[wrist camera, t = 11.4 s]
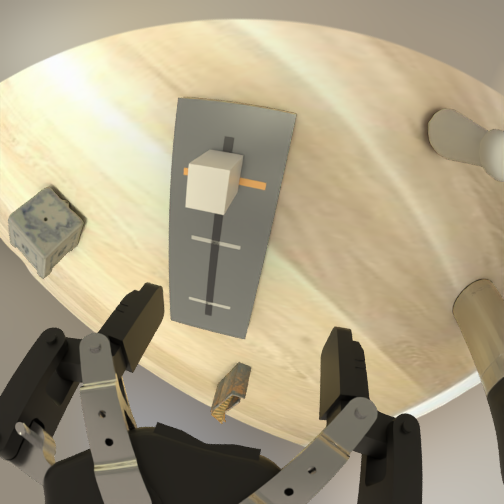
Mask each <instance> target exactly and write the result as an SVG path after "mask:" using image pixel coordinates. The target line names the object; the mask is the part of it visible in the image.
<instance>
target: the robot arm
mask: <svg viewBox="0 0 504 504" xmlns="http://www.w3.org/2000/svg"><path fill="white" fill-rule="evenodd" d="M453 314H454V317H455V319H456V321H457V323H458V325H459V327H460V330H461V332H462V334H463V336H464V339H465V341H466V343H467V346H468V348H469V350H470V353H471V355H472V358H473V360H474V363H475V366H476V368H477V371H478V374H479V377H480V379H481V382H482V385H483V388H484V391H485V394H486V397H487V400H488V404H489V406H490V410H491V414H492V418H493V421H494V426H495V430H496V435H497V441H498V449H499V458H500V468H501V475H502V480H503V483H504V300H503V298H502V296H501V295H500V293H499V292H498V290H497V289H496V288H495V286H494V285H493V283H492V282H491V281H489V280H486V279H483V280H479V281H476V282H474V283H472V284H471V285H469V286H468V287H467V288H466V289H465V290H464V291H463V292H462V293H461V294H460V295H459V297H458V298H457V300H456V302H455V304H454V308H453ZM163 316H164V299H163V288H162V287H161V286H158V285H155V284H151V283H148V282H147V283H145V284H144V286H143V287H142V288H141V290H140V291H137V290H134V291H132V292H131V293H129V294H127V295H126V296H125V297H124V298H123V300H122V301H121V302H120V304H119V305H118V306H117V308H116V310H114V311H113V313H112V314H111V315H110V317H109V318H108V320H107V321H106V322H105V324H104V325H103V326H102V328H101V329H100V330H99V332H98V333H92V334H89V335H87V336H85V337H84V338H83V339H75V338H68V337H65V335H64V333H63V331H62V330H61V329H59V328H49V329H47V330H45V331H44V332H43V333H42V334H41V335H40V337H39V338H38V339H37V341H36V342H35V343H34V345H33V346H32V348H31V349H30V350H29V352H28V353H27V355H26V356H25V358H24V359H23V361H22V362H21V364H20V365H19V367H18V368H17V370H16V372H15V373H14V375H13V376H12V378H11V379H10V381H9V383H8V384H7V386H6V388H5V389H4V391H3V393H2V395H1V396H0V457H1V458H2V459H3V460H5V461H7V462H9V463H10V464H12V465H14V466H15V467H18V468H19V469H20V470H21V471H23V472H24V473H26V474H27V475H28V476H29V477H31V478H32V479H34V480H35V481H36V482H38V483H40V484H41V485H42V486H43V487H44V495H45V504H307V503H308V502H309V501H310V500H311V499H312V498H313V497H314V496H315V495H316V494H317V493H318V492H319V491H320V490H321V489H322V488H323V487H324V486H325V485H326V484H327V483H328V482H329V481H330V480H331V479H332V478H333V477H334V475H335V474H336V473H337V472H338V471H339V470H340V469H341V468H342V467H343V465H344V464H345V463H346V462H347V460H348V459H349V457H350V456H349V454H350V453H351V452H352V451H355V452H358V453H361V454H362V459H361V472H360V484H359V494H358V502H357V504H422V451H421V435H420V426H419V423H418V421H417V419H416V418H415V417H414V416H412V415H410V414H401V415H399V416H397V417H396V418H394V417H391V416H389V415H386V414H383V413H381V412H379V411H377V408H376V406H375V404H374V403H373V402H372V401H371V400H370V399H369V390H368V381H367V372H366V364H365V356H364V350H363V349H362V347H361V345H360V343H359V342H356V341H353V340H352V332H351V329H347V328H341V327H334V328H333V330H332V332H331V334H330V336H329V338H328V340H327V342H326V343H325V345H324V347H323V350H322V354H321V378H320V412H319V419H320V420H327V425H326V427H325V428H324V430H323V431H322V432H321V433H320V434H319V435H318V436H317V437H316V438H315V439H314V440H313V441H312V442H311V443H310V444H309V445H308V446H306V447H305V448H304V449H303V450H302V451H301V452H300V453H299V454H298V455H297V456H296V457H295V458H294V459H292V460H291V461H290V462H289V463H288V464H287V465H286V466H284V467H283V468H282V469H280V468H279V467H278V466H277V465H276V464H275V463H274V462H272V461H271V460H269V459H268V458H266V457H264V456H262V455H260V451H261V449H256V448H250V447H244V446H240V445H234V444H206V443H203V442H202V441H200V440H198V439H196V438H194V437H192V436H191V435H189V434H187V433H186V432H184V431H182V430H179V429H176V428H173V427H170V426H167V425H164V424H161V423H159V422H157V425H156V427H140V428H137V425H136V422H135V420H134V417H133V415H132V412H131V409H130V405H129V401H128V398H127V394H126V390H125V386H124V382H123V377H122V375H123V373H124V371H125V370H127V371H129V372H132V373H133V372H134V370H135V368H136V366H137V365H138V363H139V361H140V359H141V357H142V355H143V354H144V352H145V350H146V348H147V347H148V345H149V343H150V341H151V339H152V338H153V336H154V334H155V332H156V331H157V329H158V327H159V325H160V324H161V322H162V319H163ZM80 382H82V383H83V386H82V387H80V397H81V404H82V410H83V415H84V421H85V426H86V432H87V436H88V440H89V445H90V449H88V450H86V451H84V452H81V453H78V454H76V455H74V456H71V457H69V458H66V459H64V460H61V461H58V462H56V463H55V459H54V455H55V454H56V445H55V441H54V439H53V435H54V433H55V431H56V429H57V426H58V424H59V422H60V420H61V418H62V416H63V414H64V412H65V410H66V408H67V406H68V404H69V402H70V400H71V398H72V396H73V394H74V392H75V390H76V389H77V387H78V385H79V383H80Z"/></svg>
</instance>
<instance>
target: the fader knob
mask: <svg viewBox="0 0 504 504" xmlns="http://www.w3.org/2000/svg"><path fill="white" fill-rule="evenodd" d="M243 156H244V155H240V154H234V153H228V152H222V151H216V150H208V151H207V152H205V153H204V154H202V155H201V156H199V157H198V158H196V159H195V160H193V161H192V162H190V163H189V167H188V179H187V191H186V206H185V207H187V208H192V209H197V210H202V211H207V212H211V213H216V214H221V215H224V214H225V212H226V211H227V209H228V207H229V205H230V204H231V202H232V200H233V199H234V197H235V195H236V194H237V192H238V186H239V180H240V174H241V168H242V162H243Z"/></svg>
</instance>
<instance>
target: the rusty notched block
mask: <svg viewBox="0 0 504 504" xmlns="http://www.w3.org/2000/svg"><path fill="white" fill-rule="evenodd" d="M250 371H251V367H250V366H248V365H245V364H243V363H240V362H239V363H238V364H237V365H236V366H235V367H234V368H233V369H232V370H231V371H230V372H229V373H228V374H227V375H226V376H225V377H224V378H223V379H222V381H221V382H220V383H219V384H218V386H217V389H216V393H215V396H214V400H213V404H212V407H211V412H212V414H211V415H212V416H213V417H214V418H216V419H217V420H218V421H219V422H220V423H221V424H222V422H223V421H224V422H226V420H225V413H226V412H227V411H229V410H230V409H231V408H233V407H234V406H235V405H237V404H238V403H240V399H241V398H243V399H245V396H246V391H247V386H248V381H249V376H250Z"/></svg>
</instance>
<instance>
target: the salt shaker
mask: <svg viewBox="0 0 504 504" xmlns="http://www.w3.org/2000/svg"><path fill="white" fill-rule="evenodd" d="M428 136H429V141H430V144H431V145H432V147H433V148H434V149H435V151H436V152H437V153H438V154H439V155H441V156H442V157H444V158H446V159H448V160H453V161H458V162H463V163H468V164H472V165H477V166H481V167H483V168H484V170H485V172H486V173H487V174H489V175H490V176H491V177H493V178H494V179H495V180H497V181H501V182H504V131H502V130H496V129H492V130H490V131H488V130H486V129H485V128H483V127H481V126H480V125H478V124H477V123H475V122H473V121H472V120H470V119H469V118H467V117H465V116H464V115H462V114H460V113H459V112H457V111H455V110H453V109H442V110H440V111H438V112H437V113H435V114H434V115H433V117H432V119H431V120H430V121H429V122H428Z"/></svg>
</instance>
